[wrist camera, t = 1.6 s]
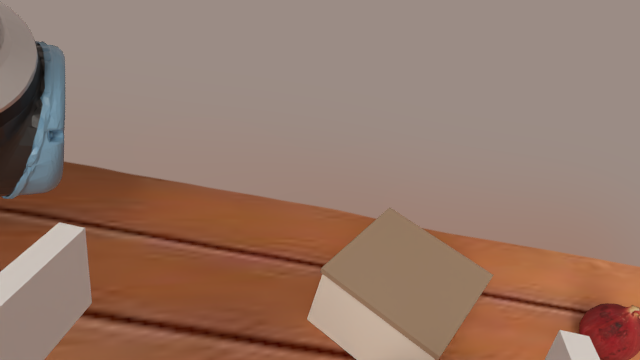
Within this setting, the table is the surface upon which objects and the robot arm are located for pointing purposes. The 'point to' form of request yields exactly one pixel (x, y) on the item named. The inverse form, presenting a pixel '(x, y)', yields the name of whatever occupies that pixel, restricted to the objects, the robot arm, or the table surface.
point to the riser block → (396, 292)
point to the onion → (613, 330)
